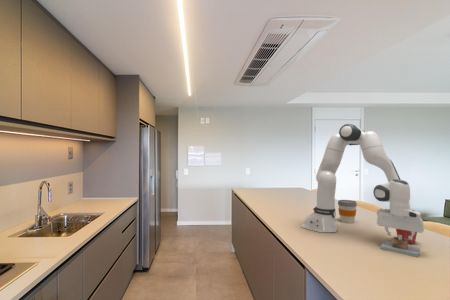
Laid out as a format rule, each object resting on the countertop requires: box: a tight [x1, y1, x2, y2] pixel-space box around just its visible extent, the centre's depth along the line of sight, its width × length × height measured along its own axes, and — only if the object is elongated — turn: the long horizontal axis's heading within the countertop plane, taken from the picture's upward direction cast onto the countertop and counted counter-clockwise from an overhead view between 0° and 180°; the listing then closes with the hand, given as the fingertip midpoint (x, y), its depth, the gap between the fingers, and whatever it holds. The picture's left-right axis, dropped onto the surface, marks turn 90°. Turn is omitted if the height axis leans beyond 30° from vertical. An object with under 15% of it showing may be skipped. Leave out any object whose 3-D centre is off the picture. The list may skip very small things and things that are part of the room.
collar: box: [391, 236, 409, 250], centre depth 134 cm, size 6×6×4 cm
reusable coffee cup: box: [337, 199, 358, 224], centre depth 189 cm, size 13×13×15 cm
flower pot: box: [395, 229, 418, 245], centre depth 146 cm, size 11×11×10 cm
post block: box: [379, 235, 421, 258], centre depth 134 cm, size 16×12×8 cm
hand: (399, 237), depth 134 cm, fingers open, 8 cm apart
